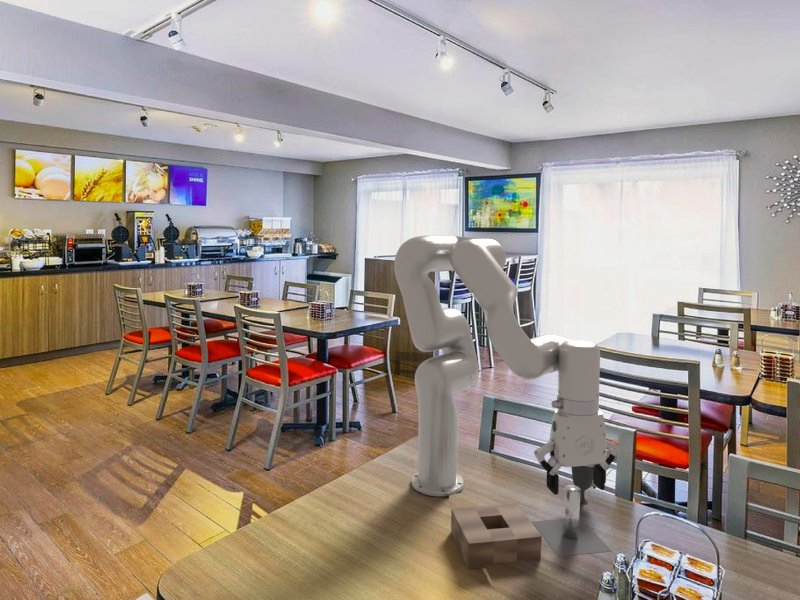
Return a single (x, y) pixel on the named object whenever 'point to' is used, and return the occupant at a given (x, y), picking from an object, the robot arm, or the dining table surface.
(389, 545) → the dining table surface
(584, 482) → the sundae
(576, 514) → the peg
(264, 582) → the dining table surface
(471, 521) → the hole block
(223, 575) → the dining table surface
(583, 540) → the mat
